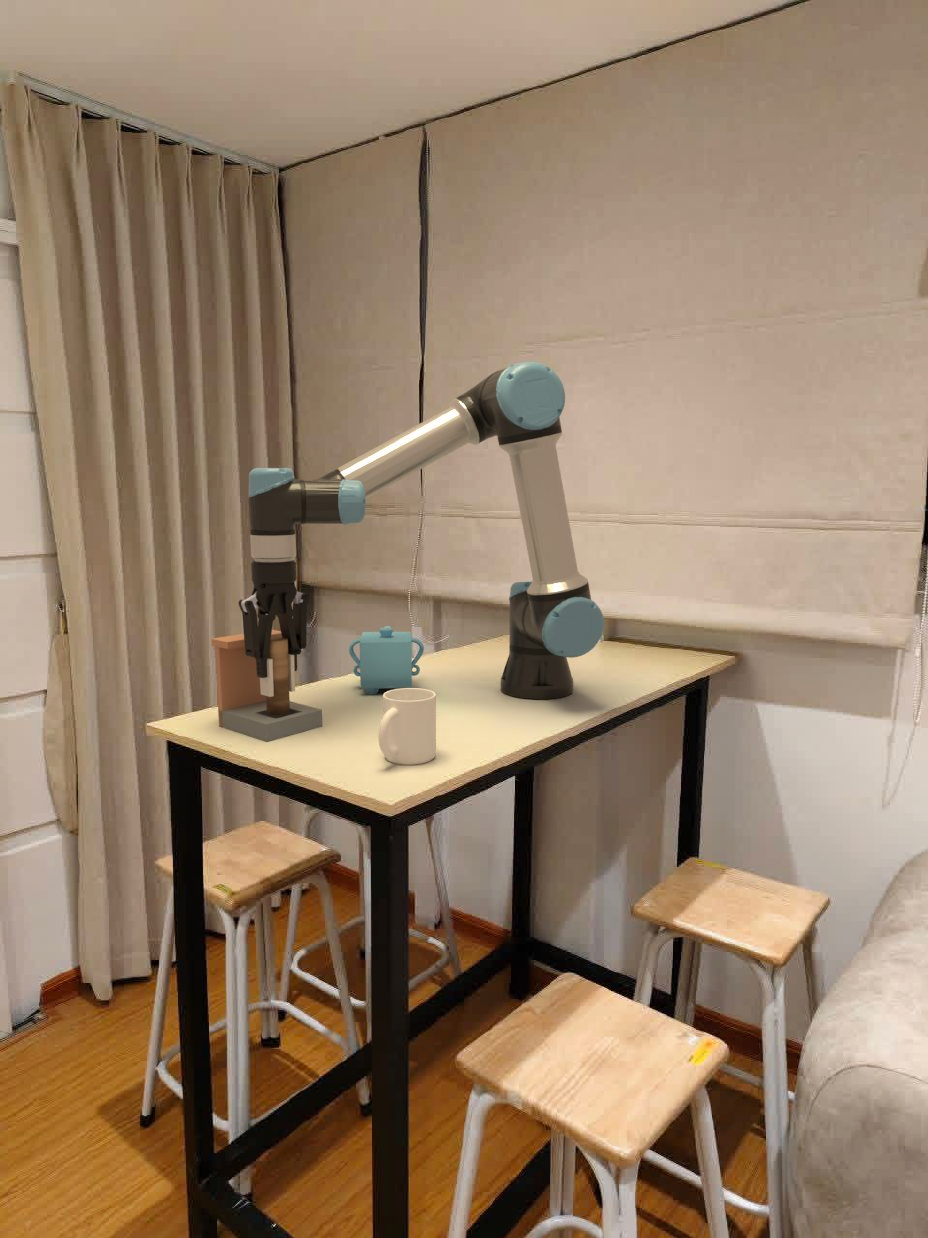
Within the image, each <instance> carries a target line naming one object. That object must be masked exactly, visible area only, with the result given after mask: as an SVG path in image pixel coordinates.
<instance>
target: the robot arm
mask: <svg viewBox="0 0 928 1238" xmlns="http://www.w3.org/2000/svg"><path fill="white" fill-rule="evenodd" d="M565 404H566V393H565V387H564V385H563V382H562V379H560V376H558V374H557V373H556V372H555V371H554V370H553V369H551V368H550V367H549V366H547V365H545V364H543V363H540V362H537V361H524V362H517V363H515V364H510V365H509V366H507V367H504V368H503V369H499V370H497V371H495V372H493V373H491V374H490V375H488V376H487V377H485V378H484V379H482V380H481V381H480V382H478V383H477V384H476V385H475V386H473V387H471V388H470V389H469V390H467V391H466V392H464V393H461V395H459V396H457V397H456V398H453V399H452V400H451V403H450V406H449V407H448V408H446V409H445V410H442V411H441V412H439V413H437V414H436V415H433V416H431V417H430V418H428V419H426V420H424V421H422V422H420V423H418V424H417V425H415V426H413V427H411V428H410V429H407V430H406V431H405V430H404V432H402V433H400V434H398V435H396V436H395V437H393V438H390V439H389V440H387V441H385V442H382V444H380V445H378V446H376V447H374V448H372V449H371V450H369V451H367V452H365V453H363V454H361V455H359V456H357V457H356V458H354V459H352V460H350V461H348V462H346V463H345V464H342V465H341V466H339V467H337V468H336V469H334V470H332V471H330V472H329V473H328V472H327V473H326V474H324V475H322V476H321V477H318V478H315V479H305V480H303V479H299V478H298V479H296V477H295V475H294V471H293V469H292V468H289V467H281V468H280V467H256V468H253V469H251V471H250V472H249V474H248V495H247V497H248V512H249V513H248V514H249V515H248V517H249V537H250V541H249V542H250V557H251V558H252V559H254V560H252V561H251V564H250V566H251V567H250V568H251V569H250V570H251V581H252V585H253V588H252V589H253V590H252V592H251V596H249V597H248V598H245V599H242V598H241V599H240V600H239V601H238V607H239V609H240V611H241V614H242V628H243V634H244V643H245V654H246V655H247V656H250V657H254V658H255V659H256V668H257V669H256V671H257V676H258V677H260V691H261V695H265V696H269V697H272V696H274V688H273V659H269V658H268V656H269V649H270V641H271V633H272V630H273V624H274V621H275V620H276V617H277V618H278V624H279V629H280V631H281V634H282V638H287V639H288V664H289V693H292V692H296V677H295V676H296V672H297V671H298V655H301V654H302V649H303V650H304V649H306V647H307V641H308V640H307V638H308V637H307V635H308V634H307V628H308V627H307V626H308V625H307V624H308V623H307V622H308V621H307V620H308V619H307V616H308V614H307V612H308V604H309V600H310V595H309V593H305V592H300V591H298V589H297V587H296V584H295V582H296V581H297V562H296V560H294V559H293V558H296V556H297V546H296V543H297V542H296V541H297V540H296V525H306V524H308V525H309V524H310V525H311V524H313V525H337V524H339V525H341V524H342V525H344V526H345V525H348V524H349V525H350V524H359V523H361V522H363V521H364V519H365V516H366V506H367V505H366V504H367V502H366V501H367V499H368V498H370V497H372V496H374V495H376V494H378V493H379V492H381V491H383V490H385V489H387V488H389V487H390V486H393V485H394V484H396V483H398V482H400V481H401V480H403V479H405V478H407V477H409V476H410V475H413V474H414V473H416V472H418V471H420V470H422V469H424V468H426V467H427V466H429V465H431V464H433V463H435V462H436V461H438V460H441V459H442V458H443V457H445V456H448V455H449V454H452V453H453V452H455V451H457V450H458V449H461V448H462V447H464V446H466V445H467V444H471V445H475V446H476V445H478V444H480V443H482V442H484V441H486V440H488V439H490V438H493V437H496V436H497V443H498V446H499V448H501V449H502V450H503V451H504V452H506V453H507V454H508V456H509V459H510V460H509V461H510V466H511V471H512V475H513V476H512V477H513V481H514V487H515V491H516V498H517V502H518V508H519V513H520V518H521V524H522V529H523V535H524V539H525V545H526V552H527V555H528V561H529V565H530V566H529V567H530V572H531V577H532V581H517V582H516V581H515V582H514V583H512V584H511V586H510V589H509V590H510V591H509V592H510V594H509V597H508V601H509V652H508V657H507V659H506V662H505V666H504V669H503V673H502V676H501V677H500V691H501V693H503V694H505V695H508V696H511V697H514V698H521V699H528V700H529V699H534V700H535V699H536V700H547V699H548V700H550V699H551V700H552V699H558V698H564V697H567V696H570V695H571V694H572V693H574V678H573V677H572V673H571V668H570V666H569V662H568V658H571V659H573V658H578V657H581V656H583V655H586V654H588V653H589V652H591V651H592V650H593V649H595V647H596V646H597V644H598V643H599V641H600V640H601V638H602V636H603V633H604V628H605V619H604V614H603V612H602V610H601V609H600V607H599V605H598V604H597V603H596V602H595V601H593V599H592V596H591V591H590V590H591V589H590V584H589V580H588V578H587V577H586V576H584V575H582V574H581V573H580V572H579V571H578V569H579V568H578V564H577V559H576V553H575V547H574V542H573V536H572V529H571V525H570V521H569V513H568V509H567V502H566V495H565V490H564V484H563V478H562V474H561V467H560V462H559V458H558V452H557V451H558V450H557V443H558V442H559V441H560V438H561V437H562V435H563V432H562V431H563V429H562V424H561V418H560V416H561V414H562V413H563V411H564V407H565Z"/></svg>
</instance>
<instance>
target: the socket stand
mask: <svg viewBox="0 0 928 1238" xmlns="http://www.w3.org/2000/svg"><path fill="white" fill-rule="evenodd" d="M273 637H282V634H281V630H276V629H272V633H271V638H273ZM211 646H213V647H214V649H215V671H216V673H215V674H216V689H217V690H216V691H217V712H218V713H217V714H218V715H217V716H218V727H220V728H224V729H226V730H230V731H233V732H235V733H239V734H243V735H245V736H248V737H251V738H255V739H258V740H260V741H264V742H271V741H275V740H278V739H281V738H282V739H283V738H285V737H288V736H293V735H295V734H298V733H303V732H306V731H309V730H314V729H316V728H320V727H321V728H322V727H323V709H321V708H316V707H313V706H310V705H305V704H302V703H298V702H293V701H290V712H289V713H287V714H284V715H269V714H267V709H266V696H265V695H261V691H260V677H258V676H257V671H256V669H257V668H256V659H255V658H254V657H250V656H247V655H246V654H245V643H244V633H239V634H233V635H227V636H220V637H214V638H211Z"/></svg>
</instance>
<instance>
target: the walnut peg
mask: <svg viewBox="0 0 928 1238" xmlns="http://www.w3.org/2000/svg"><path fill="white" fill-rule="evenodd" d="M268 658H269V659H273V688H274V696H272V697H269V696H266V709H267V714H269V715H284V714H287V713H289V712H290V691H289V664H288V639H287V638H282V637H273V638H271V641H270V649H269V656H268Z"/></svg>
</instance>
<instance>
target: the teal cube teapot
mask: <svg viewBox="0 0 928 1238" xmlns="http://www.w3.org/2000/svg"><path fill="white" fill-rule="evenodd" d="M378 630H379V631H363V632H362V633H361V637H360V638H356V639H354V640H352V641H351V643H350V644H349V646H348V653H349V655H350V657H351V658H352V660H353V661H354V663H355V664H357V665H355V666H354V667H353V674H354V675H355V676H356V677H359V678H360V679H359V680H360V681H359V683H360V689H366V690H365V692H364V694H367V695H376V694H378V692H379V689H401V688H413V677H416V676H418V675H419V674H420V673H421V672H420V671H421V669H420V667H419V666H420V665H418V664H417V663H418V661H419V660H420V659H421V657H422V656H423V655H424V649H425V647H424V644H423V642H422V641H421V640H420V639H419V638H416V637H412V631H394V628H392V627H391V626H390V625H385V626H384V627H380V628H379V629H378ZM412 643H415V644H416V645H418V646H419V649H418V651H417V654H416V655H415V657H414V658H413V656H412V655H413V654H412V647H413V646H412ZM357 644H359V658H358V656H357V655H356V653H355V652H354V647H355V646H357ZM413 668H415V669H416V670H415V671H413ZM358 669H359V671H358Z"/></svg>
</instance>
